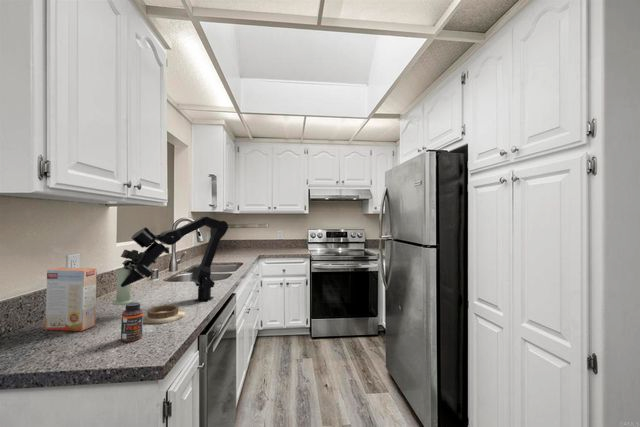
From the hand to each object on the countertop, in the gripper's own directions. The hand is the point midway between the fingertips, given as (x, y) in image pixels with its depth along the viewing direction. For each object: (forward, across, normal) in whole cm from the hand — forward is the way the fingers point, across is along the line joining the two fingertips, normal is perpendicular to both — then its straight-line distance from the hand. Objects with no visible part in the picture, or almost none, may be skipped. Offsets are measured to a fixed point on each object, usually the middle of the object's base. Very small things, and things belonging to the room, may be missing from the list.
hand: (119, 285), depth 116 cm
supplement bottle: (+11, +27, +7) cm, 30 cm away
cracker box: (+19, +1, -2) cm, 19 cm away
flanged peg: (+4, 0, +6) cm, 7 cm away
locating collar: (0, +12, +17) cm, 21 cm away
